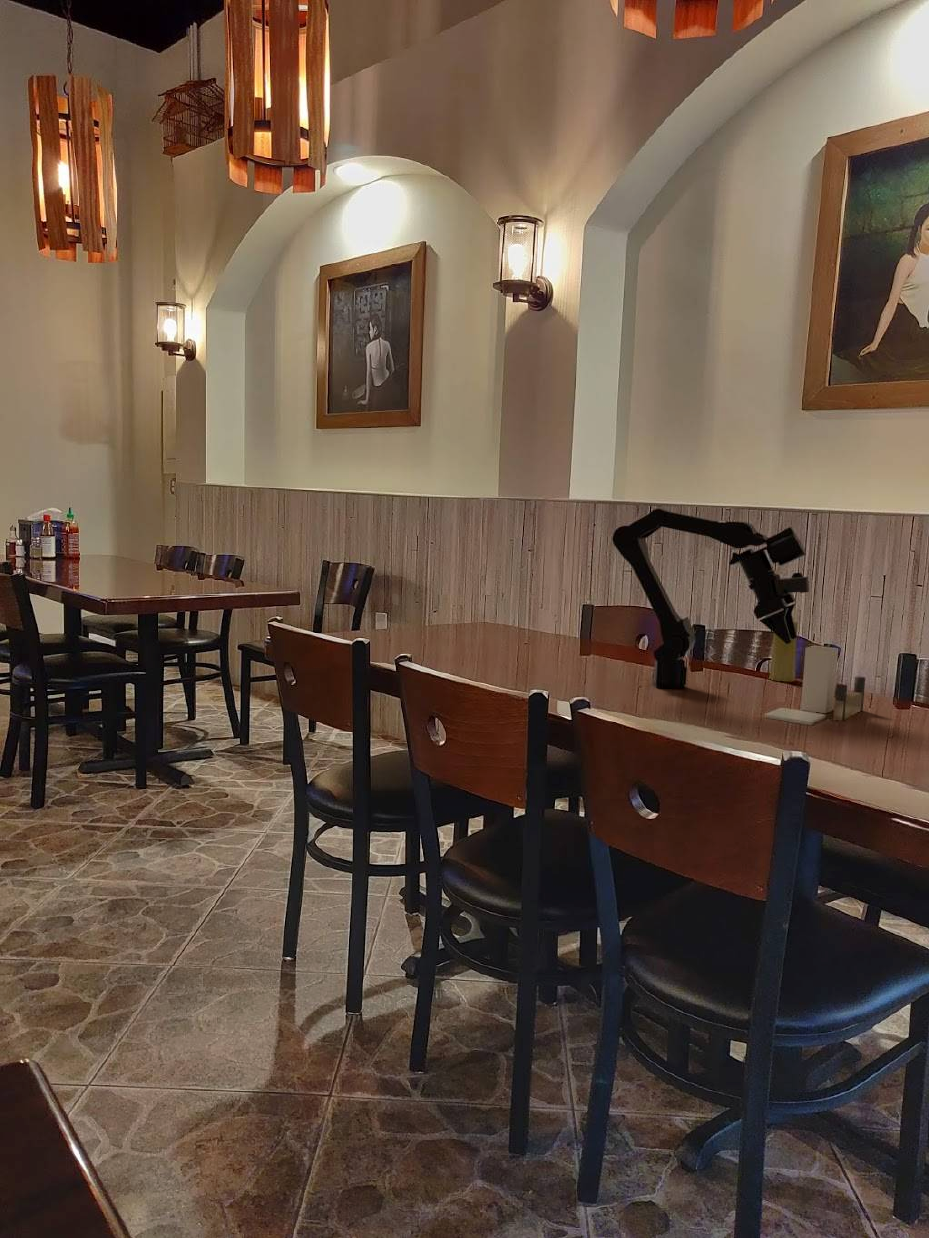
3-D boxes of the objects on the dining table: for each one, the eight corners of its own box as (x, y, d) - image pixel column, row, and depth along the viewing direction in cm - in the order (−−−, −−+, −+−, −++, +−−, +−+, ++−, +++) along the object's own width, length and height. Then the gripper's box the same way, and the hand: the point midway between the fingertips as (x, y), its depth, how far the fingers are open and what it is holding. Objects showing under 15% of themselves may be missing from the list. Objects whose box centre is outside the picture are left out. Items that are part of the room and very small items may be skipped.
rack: (832, 719, 184) (835, 684, 183) (853, 709, 195) (856, 676, 194) (842, 721, 183) (845, 686, 182) (863, 710, 194) (866, 677, 193)
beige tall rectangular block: (800, 710, 193) (805, 647, 191) (809, 706, 196) (813, 645, 195) (825, 714, 189) (830, 650, 188) (833, 710, 193) (838, 648, 192)
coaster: (764, 717, 185) (764, 714, 184) (781, 710, 192) (781, 707, 191) (810, 725, 179) (810, 722, 179) (825, 717, 186) (825, 714, 186)
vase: (796, 679, 228) (800, 621, 226) (793, 683, 223) (798, 624, 221) (770, 676, 231) (774, 619, 229) (767, 680, 225) (771, 621, 223)
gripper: (790, 560, 191) (824, 630, 189) (801, 557, 207) (832, 621, 206) (739, 583, 195) (772, 651, 194) (754, 578, 212) (784, 641, 210)
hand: (791, 640), depth 201 cm, fingers open, 9 cm apart
